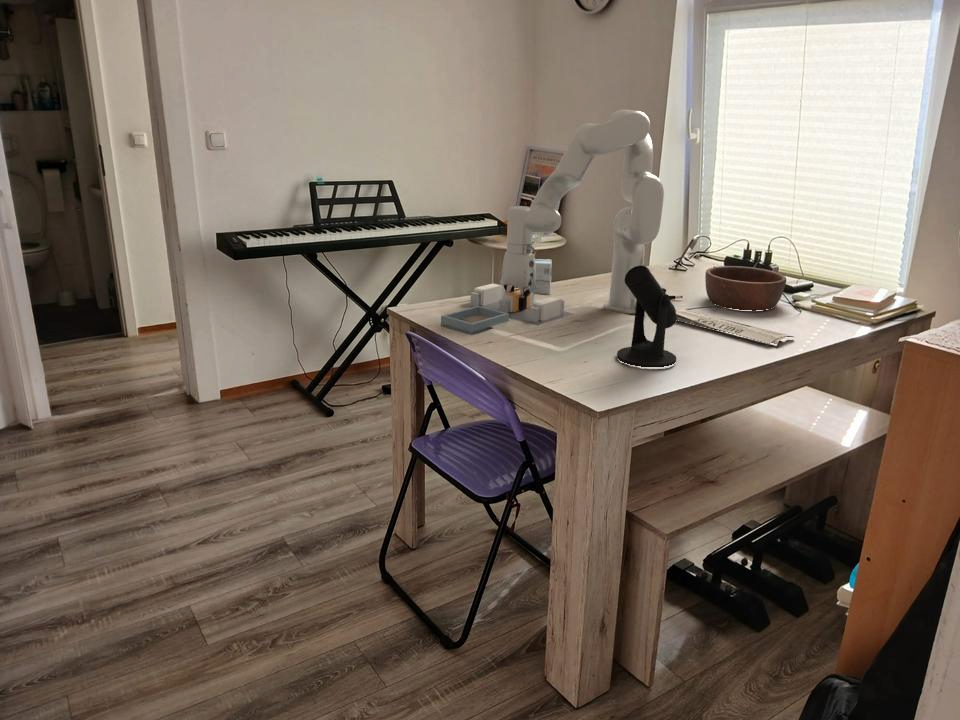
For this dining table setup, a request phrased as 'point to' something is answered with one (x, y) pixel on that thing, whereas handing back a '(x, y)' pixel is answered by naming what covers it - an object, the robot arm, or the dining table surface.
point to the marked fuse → (515, 300)
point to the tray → (473, 328)
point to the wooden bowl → (744, 287)
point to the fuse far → (489, 293)
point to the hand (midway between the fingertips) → (517, 307)
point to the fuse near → (548, 307)
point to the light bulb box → (543, 276)
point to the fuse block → (524, 315)
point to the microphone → (659, 312)
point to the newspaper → (729, 326)
